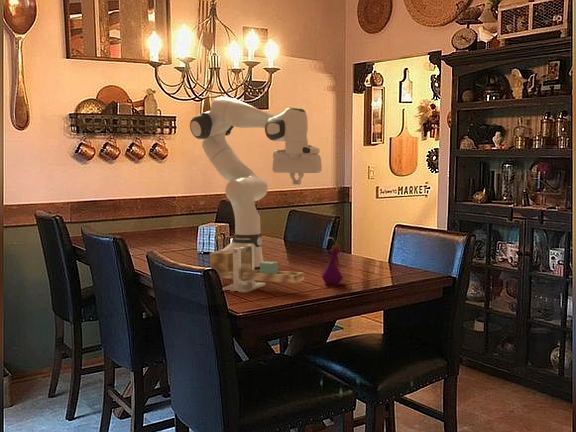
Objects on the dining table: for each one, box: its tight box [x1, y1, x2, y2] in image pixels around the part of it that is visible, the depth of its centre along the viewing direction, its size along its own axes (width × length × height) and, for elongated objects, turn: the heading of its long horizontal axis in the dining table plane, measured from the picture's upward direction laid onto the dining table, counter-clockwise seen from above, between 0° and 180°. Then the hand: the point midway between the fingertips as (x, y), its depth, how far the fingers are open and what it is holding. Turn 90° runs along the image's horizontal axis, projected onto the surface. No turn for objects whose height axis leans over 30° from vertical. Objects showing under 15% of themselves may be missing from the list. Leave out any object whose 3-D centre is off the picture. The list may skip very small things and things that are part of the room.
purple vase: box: [320, 236, 343, 287], centre depth 248 cm, size 8×8×18 cm
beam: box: [209, 250, 305, 284], centre depth 241 cm, size 36×6×10 cm, turn 62°
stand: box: [222, 245, 266, 294], centre depth 244 cm, size 10×14×15 cm
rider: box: [259, 261, 279, 274], centre depth 239 cm, size 5×4×5 cm
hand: (296, 184), depth 259 cm, fingers closed
